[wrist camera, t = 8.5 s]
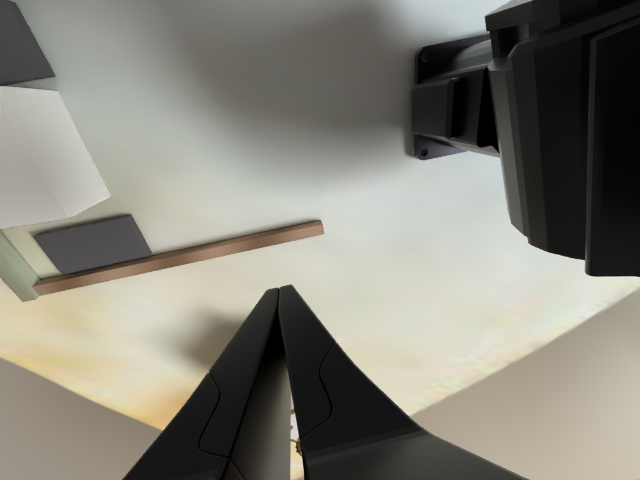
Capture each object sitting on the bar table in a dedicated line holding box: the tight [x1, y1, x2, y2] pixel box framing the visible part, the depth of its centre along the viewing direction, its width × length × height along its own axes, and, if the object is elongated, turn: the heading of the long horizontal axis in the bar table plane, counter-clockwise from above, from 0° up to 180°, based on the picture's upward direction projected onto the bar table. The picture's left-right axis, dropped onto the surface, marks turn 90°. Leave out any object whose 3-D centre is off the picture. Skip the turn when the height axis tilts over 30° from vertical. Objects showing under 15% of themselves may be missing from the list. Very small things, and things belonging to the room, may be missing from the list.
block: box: [0, 86, 111, 229], centre depth 14 cm, size 6×6×4 cm
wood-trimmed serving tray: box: [0, 220, 324, 302], centre depth 15 cm, size 21×16×1 cm
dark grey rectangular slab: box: [0, 0, 152, 274], centre depth 15 cm, size 6×14×1 cm, turn 10°
